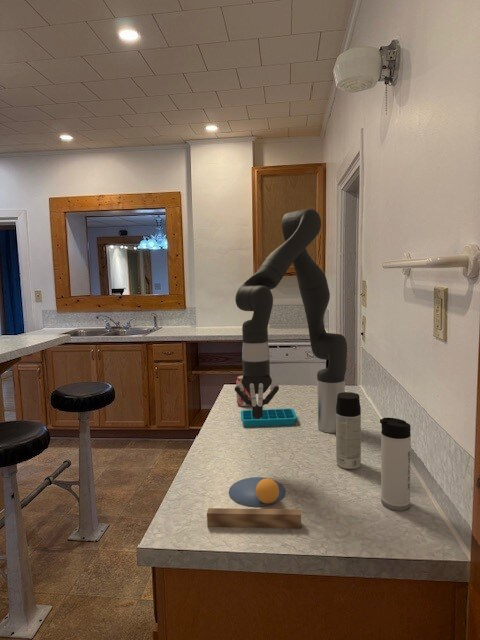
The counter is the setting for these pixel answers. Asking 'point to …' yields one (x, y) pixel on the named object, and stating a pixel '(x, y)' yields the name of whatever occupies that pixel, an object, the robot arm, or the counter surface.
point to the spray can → (348, 430)
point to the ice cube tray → (269, 417)
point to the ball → (267, 490)
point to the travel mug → (395, 463)
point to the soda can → (239, 399)
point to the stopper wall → (254, 518)
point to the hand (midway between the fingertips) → (257, 418)
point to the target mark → (251, 492)
